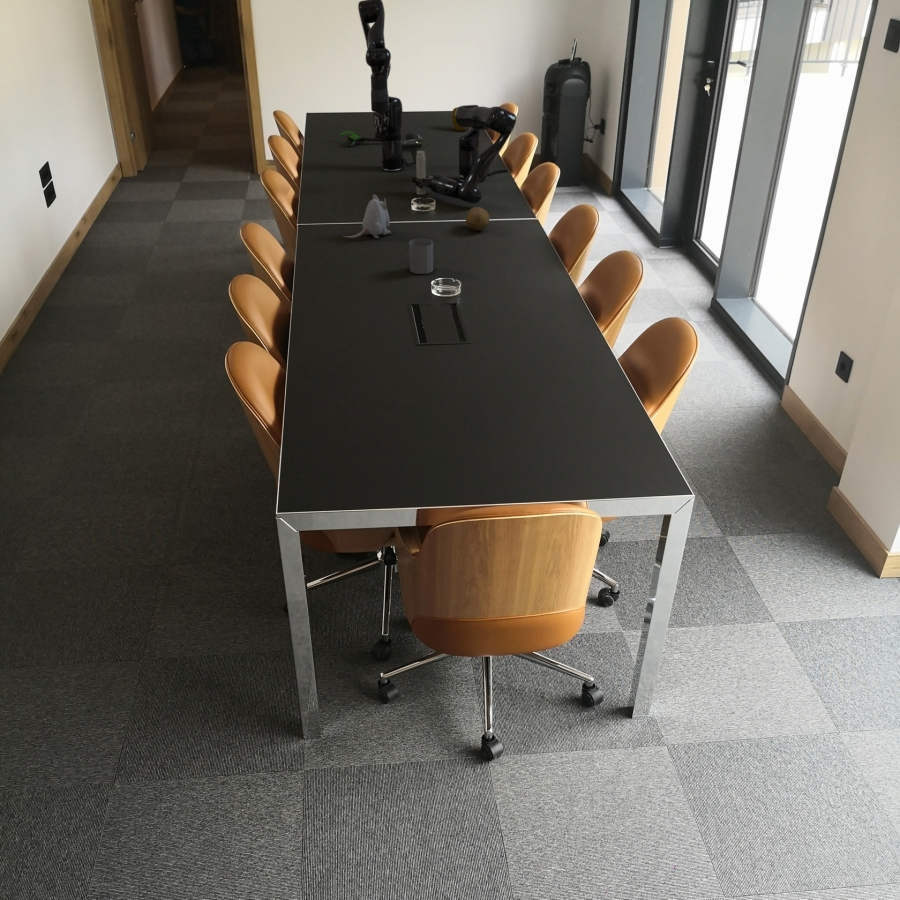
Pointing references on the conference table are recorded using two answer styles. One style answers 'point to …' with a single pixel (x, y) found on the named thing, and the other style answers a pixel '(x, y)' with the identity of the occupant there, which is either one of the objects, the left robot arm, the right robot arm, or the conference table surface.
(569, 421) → the conference table surface
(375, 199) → the toy
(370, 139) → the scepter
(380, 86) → the left robot arm
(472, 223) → the potato
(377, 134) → the lid
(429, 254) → the cup
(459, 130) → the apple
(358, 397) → the conference table surface
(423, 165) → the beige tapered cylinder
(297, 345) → the conference table surface
